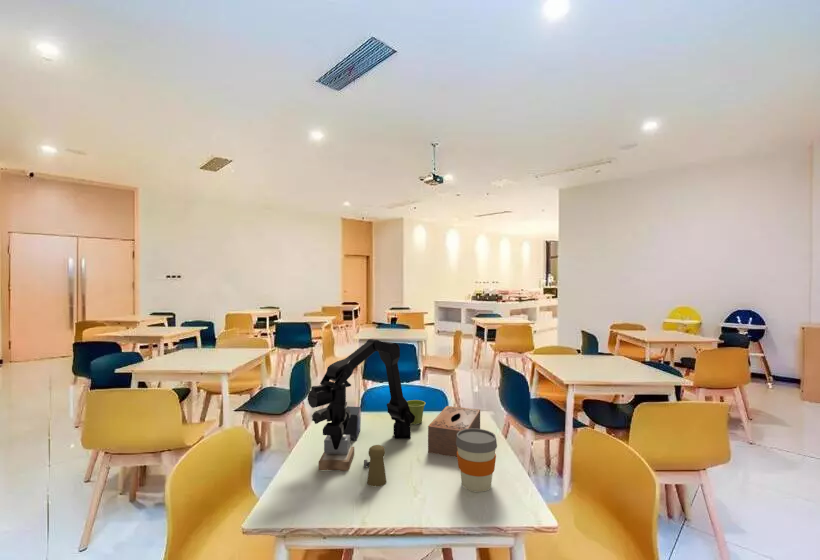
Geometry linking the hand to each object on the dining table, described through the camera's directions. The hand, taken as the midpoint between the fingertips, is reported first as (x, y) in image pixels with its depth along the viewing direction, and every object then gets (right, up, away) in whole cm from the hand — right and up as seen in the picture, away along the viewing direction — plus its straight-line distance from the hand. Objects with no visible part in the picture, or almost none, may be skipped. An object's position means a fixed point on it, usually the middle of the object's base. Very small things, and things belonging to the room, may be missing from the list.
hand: (337, 446), depth 135 cm
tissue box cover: (+43, -6, +17) cm, 47 cm away
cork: (+15, -6, -13) cm, 21 cm away
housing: (0, -2, 0) cm, 2 cm away
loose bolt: (+13, -6, -2) cm, 14 cm away
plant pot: (+27, -6, +40) cm, 49 cm away
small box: (+1, -6, +24) cm, 25 cm away
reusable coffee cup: (+46, -6, -15) cm, 48 cm away
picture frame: (0, -6, 0) cm, 6 cm away
